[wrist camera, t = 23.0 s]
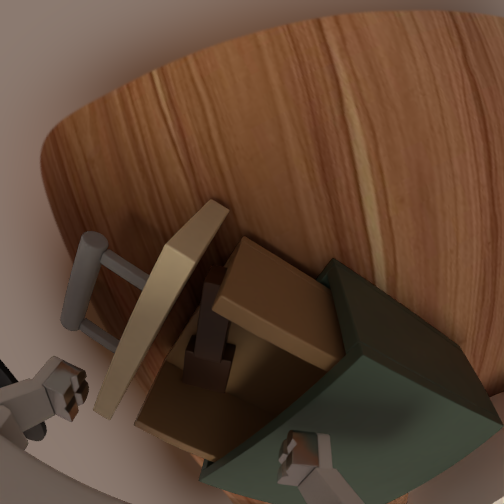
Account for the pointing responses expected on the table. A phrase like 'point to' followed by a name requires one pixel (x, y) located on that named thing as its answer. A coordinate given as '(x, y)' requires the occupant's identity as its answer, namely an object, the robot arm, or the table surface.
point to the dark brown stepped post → (209, 341)
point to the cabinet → (373, 405)
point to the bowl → (470, 474)
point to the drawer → (240, 334)
